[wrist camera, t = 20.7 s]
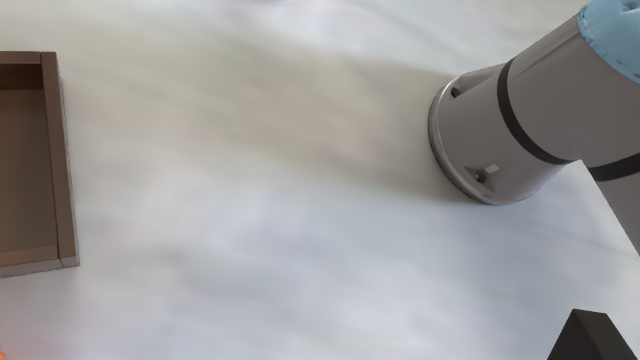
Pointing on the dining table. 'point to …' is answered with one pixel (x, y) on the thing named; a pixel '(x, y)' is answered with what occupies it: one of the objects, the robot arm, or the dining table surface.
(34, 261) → the crate
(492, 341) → the dining table surface
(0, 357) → the skittle
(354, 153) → the dining table surface
